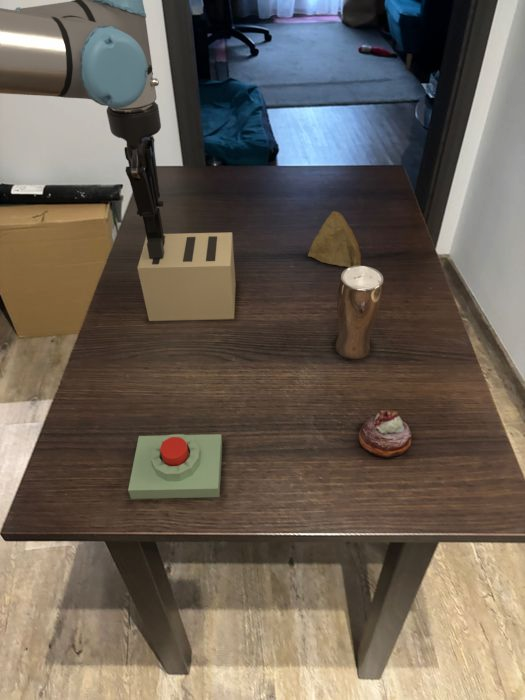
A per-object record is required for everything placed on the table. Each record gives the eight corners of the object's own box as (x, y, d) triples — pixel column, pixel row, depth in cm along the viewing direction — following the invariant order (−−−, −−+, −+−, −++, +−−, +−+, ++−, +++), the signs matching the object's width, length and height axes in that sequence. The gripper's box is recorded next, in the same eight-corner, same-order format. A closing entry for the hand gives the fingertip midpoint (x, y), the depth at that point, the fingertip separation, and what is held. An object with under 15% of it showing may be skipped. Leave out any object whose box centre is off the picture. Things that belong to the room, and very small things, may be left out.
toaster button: (149, 259, 92) (146, 244, 90) (151, 252, 93) (148, 237, 91) (163, 258, 92) (160, 243, 90) (164, 252, 93) (162, 237, 91)
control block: (131, 499, 71) (125, 482, 69) (141, 445, 78) (136, 428, 75) (219, 497, 71) (217, 480, 68) (222, 443, 78) (220, 426, 75)
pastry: (393, 413, 81) (399, 391, 78) (422, 450, 76) (429, 428, 73) (348, 429, 79) (351, 407, 76) (374, 468, 74) (379, 447, 71)
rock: (376, 255, 109) (351, 228, 114) (361, 235, 102) (335, 206, 108) (336, 290, 111) (313, 261, 117) (318, 272, 104) (295, 242, 110)
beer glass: (329, 358, 90) (336, 287, 80) (335, 331, 95) (342, 262, 85) (370, 364, 89) (383, 293, 79) (374, 337, 94) (386, 267, 84)
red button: (160, 466, 71) (158, 458, 70) (163, 444, 73) (161, 436, 72) (187, 465, 71) (185, 458, 70) (189, 444, 73) (188, 436, 72)
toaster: (148, 321, 99) (137, 267, 90) (156, 286, 107) (146, 233, 98) (234, 319, 98) (230, 265, 90) (235, 284, 107) (232, 231, 98)
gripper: (151, 119, 72) (174, 264, 88) (162, 89, 82) (181, 224, 98) (96, 120, 72) (129, 265, 88) (114, 90, 82) (141, 225, 98)
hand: (156, 243), depth 93 cm, fingers closed
